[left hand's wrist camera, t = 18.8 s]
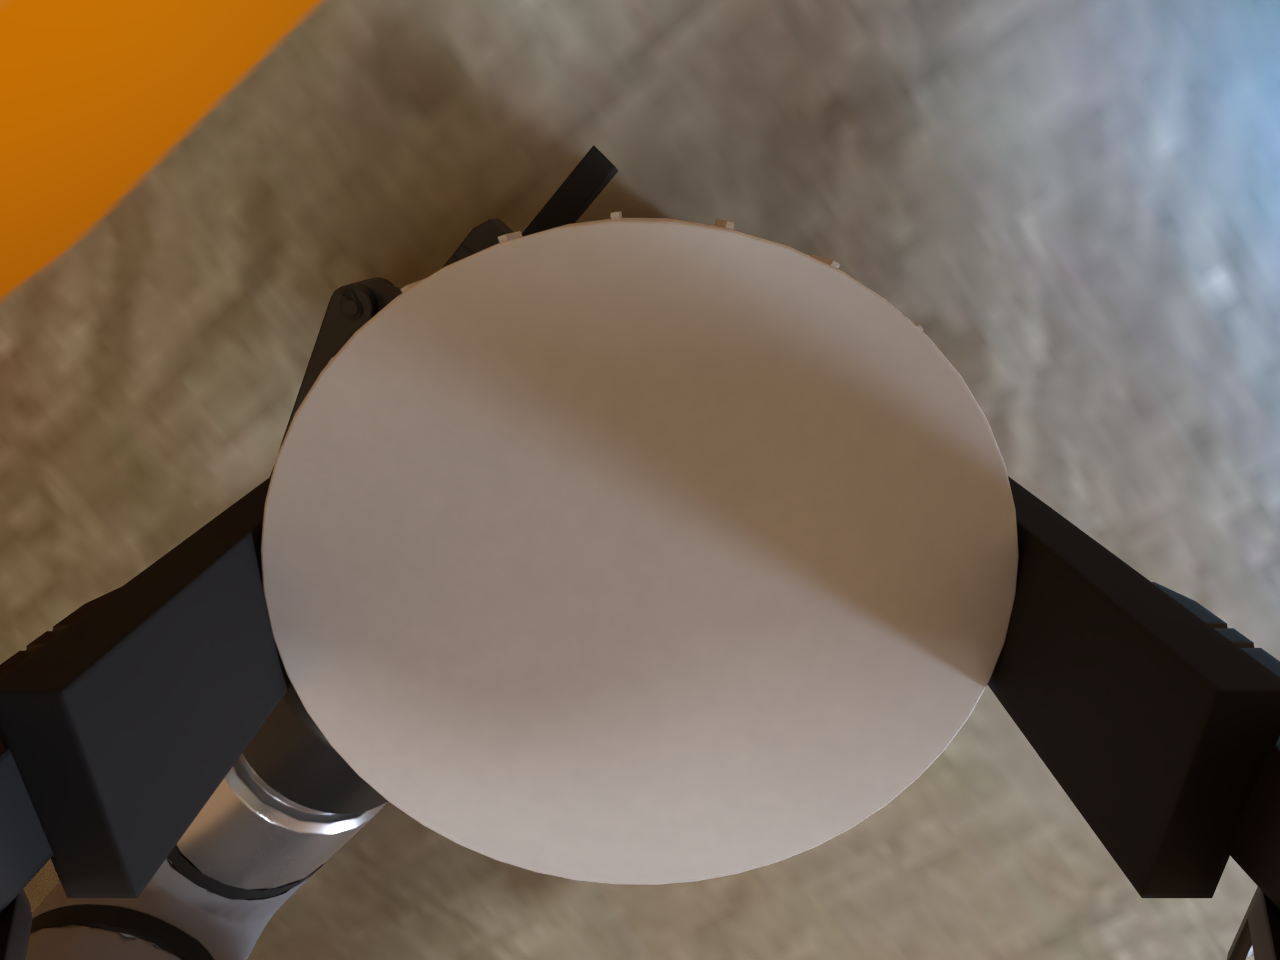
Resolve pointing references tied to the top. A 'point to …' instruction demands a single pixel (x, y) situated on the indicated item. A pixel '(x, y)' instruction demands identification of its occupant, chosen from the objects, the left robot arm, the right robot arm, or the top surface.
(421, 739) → the lid
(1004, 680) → the left robot arm
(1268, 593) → the top surface
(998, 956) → the top surface
